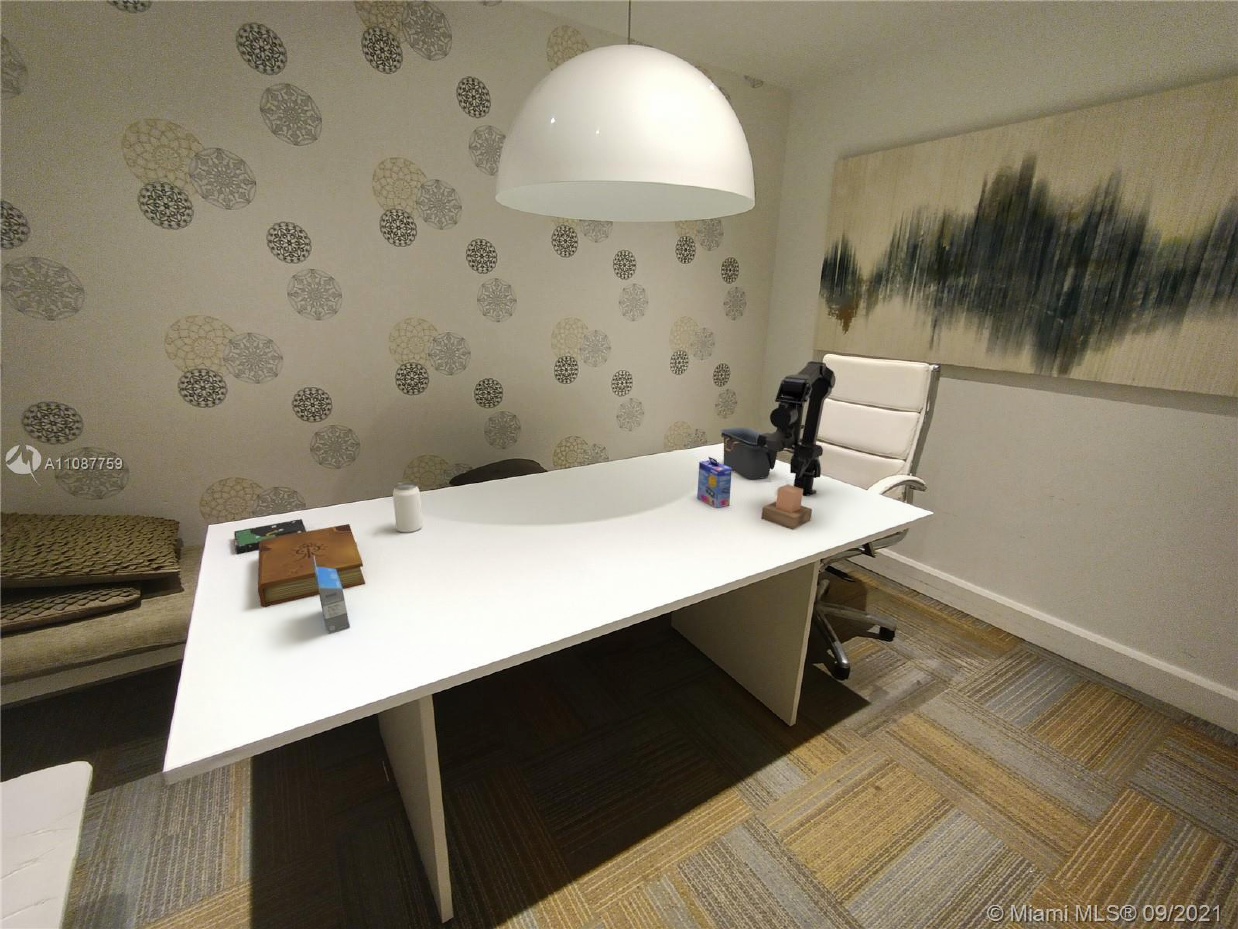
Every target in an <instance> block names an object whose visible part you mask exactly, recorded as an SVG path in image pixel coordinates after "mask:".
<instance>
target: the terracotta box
mask: <svg viewBox="0 0 1238 929" xmlns="http://www.w3.org/2000/svg"><path fill="white" fill-rule="evenodd" d="M803 496H804V495H803V489H802V488H798V487H795V486H794V485H791V484H785V485H782V486H779V487H778V488H777V493H776V500H775V502H776V508H779V509H781V510H784V511H787V512H790V513H792V512H794V511H796V510H799V509H801V506H802V500H803Z"/></svg>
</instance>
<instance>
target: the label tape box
mask: <svg viewBox="0 0 1238 929" xmlns="http://www.w3.org/2000/svg"><path fill="white" fill-rule="evenodd" d="M314 570H315V575H316V580H317V586H318V591H319V595H318V597H319V601H320V605H321V610H322V616H323V620H324V624H325V627H326V631H327V633H328V634H332V633H335V632H340V631H342V630H345V629H349V628H351V625H350V621H349V620H350V619H349V616H348V610H347V605H346V600H345V594H344V589H343V588H342V585H341V582H340V579H339V576H338V573H337V570H336V569H331V568H323V567H316V562H315V555H314Z"/></svg>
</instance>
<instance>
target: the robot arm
mask: <svg viewBox="0 0 1238 929" xmlns="http://www.w3.org/2000/svg"><path fill="white" fill-rule="evenodd" d="M835 385H836V376H835V372H834V371H833V370H832V369H830V367H828V366H827V363H825V362H823V361H817V360H816V361H814V360H811V361H808V362H807V363H806V366H804V368H802V369H801V370H800V371H799V372H798V373H797V374H789V375H786V376H785V377H784V378H783V379H782V380H781V381H780V385H779V387H778V391H777V393H776V396H775V400H774V402H776V403H778V407H776V408H775V409H773V410H771V413H770V415H769V420H770V423H771V424H772V426H773V427H775V428H776V430H775V432H773V433H771V432H766V433H763V434H761V435H759V436H758V437H757V441H756V444H758V445H761V446H760V448H762V449H763V450H764V451H765V452H766V454H767V457H768V461H769V465H770V470H774V468H775V465H776V462H777V456H778V453H781V452H783V451H784V450H785V449H786V450H787V449H788V450H793V454H792V456H791V457H790V458H791V459H790V462H789V465H790V466H789V467H790V469H789V470H790V471H789V473H790V474H794V475H795V476H794V480H793V486H795V487H798V488H802V489H803V495H802V496H804V497H806V496H809V495H812V494H816V493H817V490H815V489H813V488H814V480H815V479H817V478H821V474H822V467H821V462H820V459H819V458H820V457H821V456H823V453H824V449H823V447H822V445H820V444H817V440H818V435H819V430H820V424H821V419H822V415H823V410H824V404H825V401H826V400H827V398H828V397H830V395H831V394H832V391H833V389H834V388H835ZM806 403H808V404H807V410H806V416H805V421H804V424H802V423H803V416H804V407H805V404H806ZM801 434H802V436H801Z"/></svg>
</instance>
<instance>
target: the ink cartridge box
mask: <svg viewBox="0 0 1238 929" xmlns="http://www.w3.org/2000/svg"><path fill="white" fill-rule="evenodd" d="M708 459H709V460H703V461H702V460H701V461H699V462H698V478H697V480H698V481H697V496H696V498H697V499H698V500H700V501H702V502H703V503H706V504H708V505H710V506H711V507H713V508H715V509H718V508H724V507H729V506H730V503H731V502H730V500H731V486H732V474H733V473H732V468H730V467H728V466H726V465H724V463H723V464H722V463H720V462H719V461H718V460H717V459H715V458H714V457H710V456H708Z"/></svg>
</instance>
